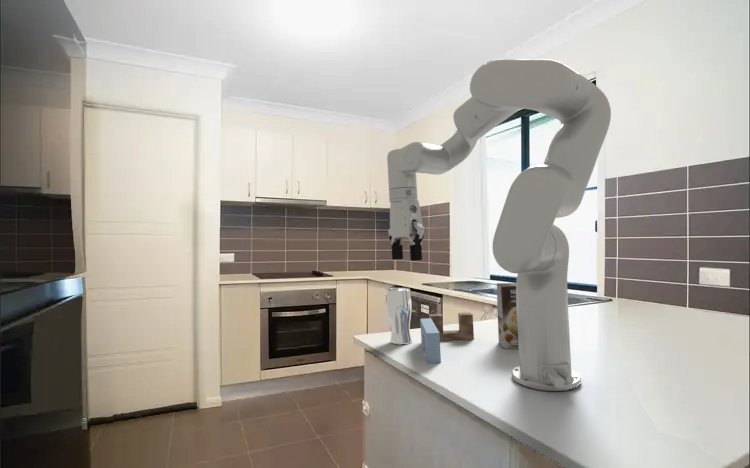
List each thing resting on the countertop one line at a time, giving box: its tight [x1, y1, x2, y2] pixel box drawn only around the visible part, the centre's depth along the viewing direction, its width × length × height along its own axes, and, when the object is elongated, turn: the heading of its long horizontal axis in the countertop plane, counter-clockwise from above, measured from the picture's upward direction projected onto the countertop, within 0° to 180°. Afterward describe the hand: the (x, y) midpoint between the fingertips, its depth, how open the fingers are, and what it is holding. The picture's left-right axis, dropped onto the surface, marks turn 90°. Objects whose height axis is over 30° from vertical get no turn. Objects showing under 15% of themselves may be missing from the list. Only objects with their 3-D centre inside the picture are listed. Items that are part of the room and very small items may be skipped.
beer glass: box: [386, 287, 413, 346], centre depth 111 cm, size 7×7×15 cm
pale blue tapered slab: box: [419, 317, 442, 364], centre depth 99 cm, size 16×3×7 cm, turn 179°
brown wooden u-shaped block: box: [428, 311, 475, 342], centre depth 111 cm, size 12×3×7 cm, turn 89°
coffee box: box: [496, 282, 519, 350], centre depth 102 cm, size 9×6×16 cm
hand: (406, 259), depth 104 cm, fingers open, 9 cm apart
